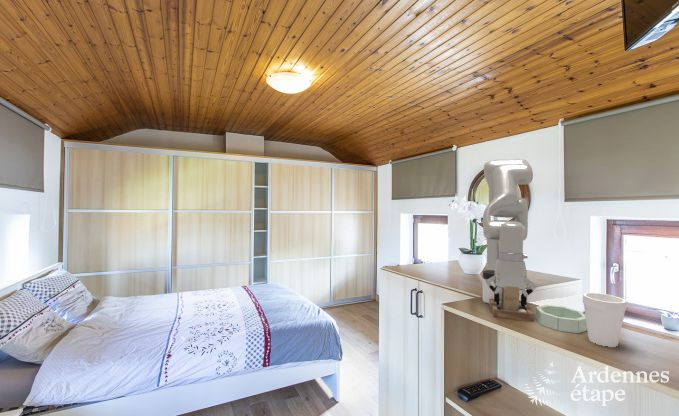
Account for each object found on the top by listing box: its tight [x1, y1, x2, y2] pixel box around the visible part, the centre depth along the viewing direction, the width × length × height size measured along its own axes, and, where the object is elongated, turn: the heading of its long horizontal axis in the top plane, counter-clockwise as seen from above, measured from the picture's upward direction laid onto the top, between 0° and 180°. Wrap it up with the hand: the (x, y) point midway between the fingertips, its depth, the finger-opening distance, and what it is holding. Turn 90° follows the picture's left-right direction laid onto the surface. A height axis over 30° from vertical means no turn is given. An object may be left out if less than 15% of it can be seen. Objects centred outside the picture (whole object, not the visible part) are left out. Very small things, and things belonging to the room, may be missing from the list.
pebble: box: [494, 300, 501, 309], centre depth 115 cm, size 3×3×3 cm
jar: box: [481, 269, 502, 304], centre depth 122 cm, size 9×8×12 cm
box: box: [500, 286, 520, 311], centre depth 110 cm, size 5×4×11 cm
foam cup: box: [582, 292, 627, 348], centre depth 87 cm, size 10×9×13 cm
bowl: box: [535, 304, 588, 334], centre depth 100 cm, size 13×13×4 cm
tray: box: [488, 299, 535, 322], centre depth 110 cm, size 13×12×2 cm
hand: (510, 304), depth 110 cm, fingers open, 7 cm apart
